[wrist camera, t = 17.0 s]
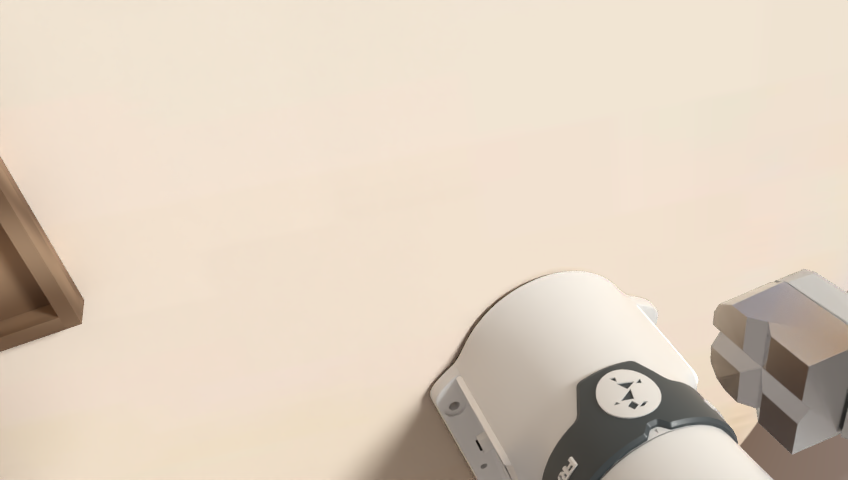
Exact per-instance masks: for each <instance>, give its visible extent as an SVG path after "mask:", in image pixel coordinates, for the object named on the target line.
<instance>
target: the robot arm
mask: <svg viewBox="0 0 848 480" xmlns="http://www.w3.org/2000/svg"><path fill="white" fill-rule="evenodd" d="M657 318H658V311H657V309H656V308H655V307H654V306H653V304H652V303H651V302H650V301H649V300H647V299H644V298H640V297H635V296H629V295H626V294H624V293H623V292H622V291H620V290H619V289H618V288H617V287H616V286H615V285H614V284H613V283H612V282H610V281H609V280H607V279H606V278H604V277H602V276H600V275H597V274H594V273H590V272H583V271H566V272H559V273H554V274H550V275H547V276H543V277H541V278H538V279H535V280H533V281H531V282H529V283H527V284H525V285H523V286H521V287H519V288H517V289H516V290H514V291H513V292H511V293H510V294H508V295H507V296H505V297H504V298H503V299H501V300H500V301H499V302H498V303H497V304H495V305H494V306H493V307H492V308H491V309H490V310H489V311H488V312H487V313H486V314H485V315H484V316H483V318H482V319H481V320H480V321H479V323H478V324H477V325H476V327H475V328H474V329H473V331H472V332H471V334H470V336H469V338H468V339H467V341H466V343H465V345H464V347H463V349H462V351H461V353H460V355H459V357H458V359H457V360H456V362H455V363H454V364H453V365H452V366H451V367H450V368H449V369H448V370H447V371H446V372H445V373H444V374H443V375H442V376H441V377H440V378H439V379H438V380H437V381H436V383H435V384H434V385H433V387H432V389H431V391H430V397H431V399H432V401H433V403H434V405H435V407H436V408H437V410H438V412H439V414H440V415H441V417H442V419H443V421H444V423H445V424H446V426H447V428H448V430H449V431H450V433H451V435H452V437H453V438H454V440H455V442H456V444H457V446H458V447H459V449H460V451H461V453H462V454H463V456H464V458H465V460H466V461H467V463H468V465H469V467H470V469H471V470H472V472H473V474H474V476H475V477H476V479H477V480H773V479H772V478H771V477H770V476H769V475H768V474H767V473H766V472H765V471H764V470H763V469H762V468H761V467H760V466H759V465H758V464H757V463H756V462H755V461H754V460H753V459H751V457H750V456H749V455H748V454H747V453H746V452H745V451H744V450H743V449H742V448H741V447H740V446H739V445H738V441H737V437H736V435H735V433H734V431H733V430H732V428H731V427H730V426H729V425H728V424H727V423H726V422H725V420H724V418H723V417H722V415H721V414H720V412H719V411H718V410H717V409H716V408H715V407H714V406H713V405H712V404H711V403H709V402H708V401H707V400H706V399H704V398H703V397H702V396H701V395H700V394H699V393H698V392H697V383H698V378H697V375H696V373H695V372H694V370H693V369H692V368H691V367H690V365H689V364H688V363H687V362H686V361H685V359H684V358H683V357H682V356H681V355H680V354H679V352H678V351H677V350H676V349H675V348H674V346H673V345H672V344H671V343H670V342H669V341H668V339H667V338H666V337H665V336H664V335H663V334H662V333H661V331H660V330H659V329H658V328H657V327H656V323H657ZM713 325H714V326H715V327H716V328H717V329H718V330H720V333H719V334H718V336H717V338H716V339H715V341H714V342H713V344H712V345H711V364H712V367H713V369H714V372H715V375H716V377H717V379H718V381H719V382H720V384H721V385H722V386H723V388H724V389H725V391H726V392H727V393H728V394H729V395H730V396H731V397H732V398H733V399H734V400H735V401H736V402H738V403H741V404H744V405H747V406H751V407H754V408H756V410H757V417H758V423H759V424H760V425H761V426H762V427H764V428H765V429H766V430H767V431H768V432H769V433H770V434H771V435H772V436H773V437H774V438H775V439H776V440H777V441H778V442H779V443H780V444H781V445H783V446H784V447H785V448H786V449H787V450H788V451H789V452H790V453H791V454H794V453H796V452H799V451H801V450H803V449H806V448H808V447H810V446H813V445H815V444H817V443H820V442H822V441H824V440H826V439H829V438H831V437H833V436H836V435H838V434H840V433H842V434H841V437H843V438H845V439H848V293H847V292H845V291H844V290H842V289H841V288H839V287H837V286H836V285H834V284H833V283H831V282H830V281H828V280H827V279H825V278H824V277H822V276H821V275H819V274H818V273H816V272H813V271H810V270H806V269H803V270H801V271H798V272H796V273H793V274H791V275H788V276H786V277H784V278H781V279H779V280H776V281H775V282H770V283H768V284H765V285H763V286H761V287H758V288H756V289H754V290H751V291H749V292H747V293H744V294H742V295H739V296H737V297H735V298H732V299H730V300H728V301H725V302H723V303H721V304H719V305H718V307H717V308H716V310H715V311H714V319H713Z"/></svg>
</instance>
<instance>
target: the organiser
mask: <svg viewBox="0 0 848 480" xmlns="http://www.w3.org/2000/svg"><path fill="white" fill-rule="evenodd" d="M83 306H84V299H83V298H82V296H81V294H80V293H79V291H78V289H77V287H76V286H75V284H74V282H73V281H72V279H71V277H70V275H69V274H68V272H67V270H66V269H65V267H64V265H63V263H62V262H61V260H60V258H59V257H58V255H57V253H56V251H55V250H54V248H53V246H52V245H51V243H50V241H49V239H48V238H47V236H46V234H45V233H44V231H43V229H42V227H41V226H40V224H39V222H38V221H37V219H36V217H35V215H34V214H33V212H32V210H31V209H30V207H29V205H28V203H27V202H26V200H25V198H24V197H23V195H22V193H21V191H20V190H19V188H18V186H17V185H16V183H15V181H14V179H13V178H12V176H11V174H10V173H9V171H8V169H7V167H6V166H5V164H4V162H3V161H2V159H1V157H0V352H1V351H4V350H6V349H9V348H12V347H15V346H18V345H21V344H24V343H27V342H30V341H33V340H36V339H39V338H42V337H44V336H47V335H50V334H53V333H56V332H59V331H62V330H65V329H68V328H71V327H74V326H77V325H80V324H82V316H83Z"/></svg>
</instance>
